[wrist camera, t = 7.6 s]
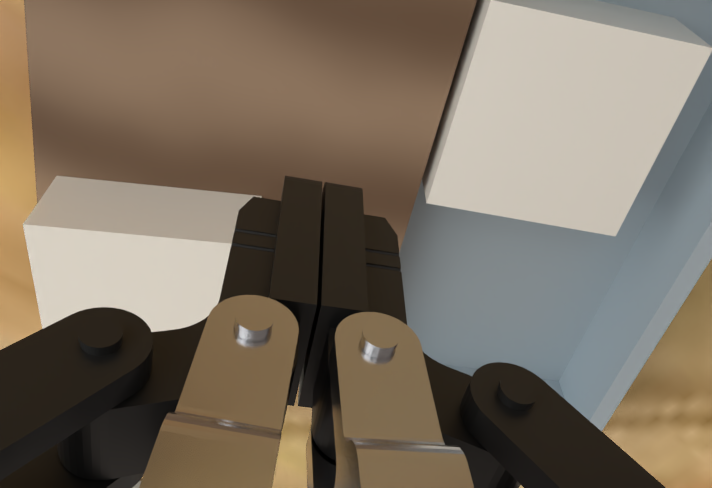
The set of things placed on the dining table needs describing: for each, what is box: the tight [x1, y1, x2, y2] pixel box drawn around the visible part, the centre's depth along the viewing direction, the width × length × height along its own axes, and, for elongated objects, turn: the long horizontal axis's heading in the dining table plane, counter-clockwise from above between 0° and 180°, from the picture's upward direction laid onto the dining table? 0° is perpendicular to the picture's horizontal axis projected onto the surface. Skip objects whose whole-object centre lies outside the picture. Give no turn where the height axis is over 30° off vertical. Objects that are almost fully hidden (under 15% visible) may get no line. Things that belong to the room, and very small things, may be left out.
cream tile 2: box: [23, 176, 262, 332], centre depth 24 cm, size 7×7×3 cm
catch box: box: [399, 0, 712, 431], centre depth 25 cm, size 22×11×4 cm, turn 168°
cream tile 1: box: [422, 0, 712, 236], centre depth 23 cm, size 7×7×3 cm
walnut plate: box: [24, 0, 477, 252], centre depth 24 cm, size 20×13×2 cm, turn 168°
